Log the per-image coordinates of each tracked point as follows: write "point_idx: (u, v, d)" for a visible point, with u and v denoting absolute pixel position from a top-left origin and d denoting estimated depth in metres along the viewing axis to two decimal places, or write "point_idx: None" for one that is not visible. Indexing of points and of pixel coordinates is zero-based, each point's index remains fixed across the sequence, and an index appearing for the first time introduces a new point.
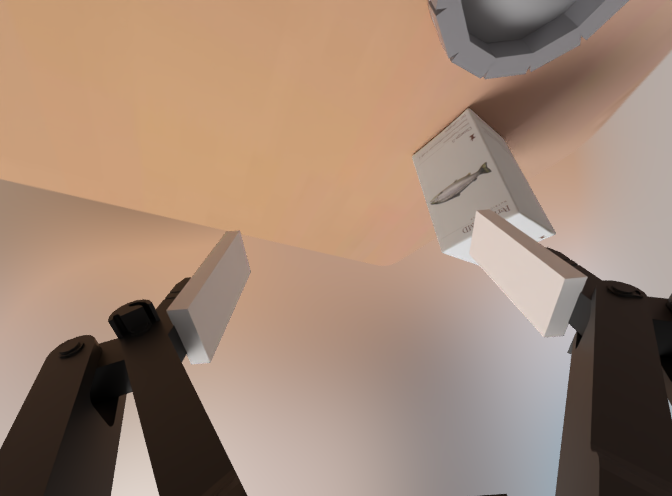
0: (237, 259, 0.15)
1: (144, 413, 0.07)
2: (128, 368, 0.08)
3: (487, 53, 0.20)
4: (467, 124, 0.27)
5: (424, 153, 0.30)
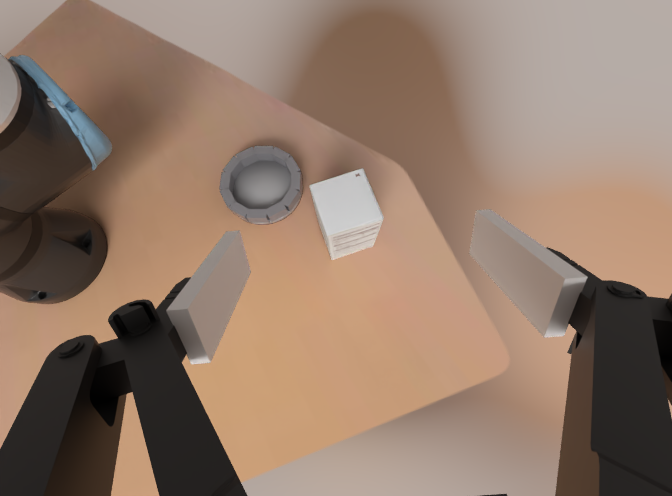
0: (237, 259, 0.15)
1: (144, 413, 0.07)
2: (128, 368, 0.08)
3: (276, 204, 0.45)
4: None
5: None
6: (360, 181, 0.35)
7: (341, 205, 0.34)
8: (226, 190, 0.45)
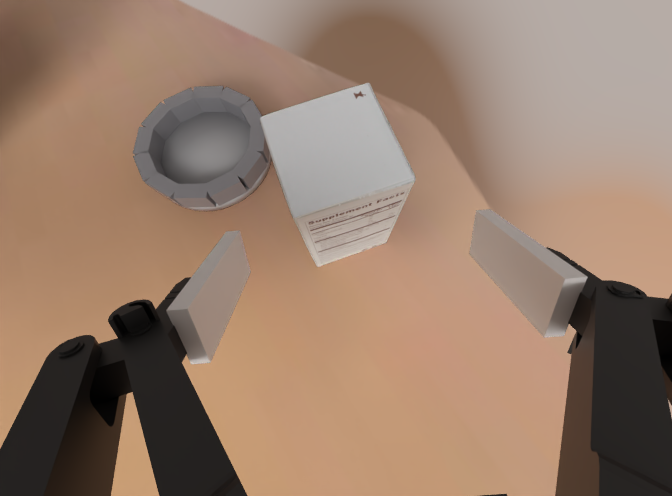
0: (237, 259, 0.15)
1: (144, 413, 0.07)
2: (128, 368, 0.08)
3: (224, 174, 0.27)
4: None
5: None
6: (364, 106, 0.17)
7: (325, 153, 0.16)
8: (144, 155, 0.28)
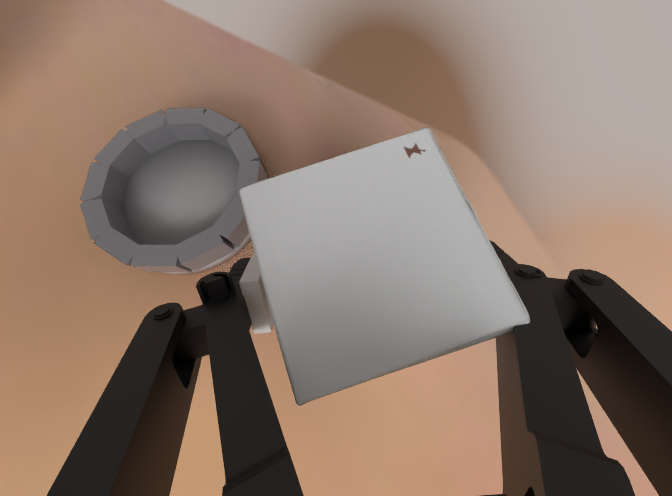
0: None
1: (216, 371, 0.07)
2: (207, 329, 0.09)
3: (201, 232, 0.20)
4: None
5: None
6: (424, 173, 0.09)
7: (358, 266, 0.09)
8: (95, 202, 0.21)
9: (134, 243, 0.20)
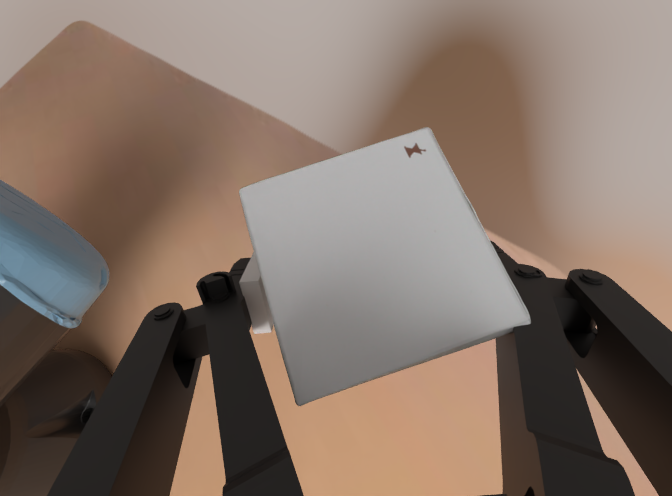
0: None
1: (216, 371, 0.08)
2: (207, 329, 0.09)
3: None
4: None
5: None
6: (425, 172, 0.09)
7: (358, 266, 0.09)
8: None
9: None
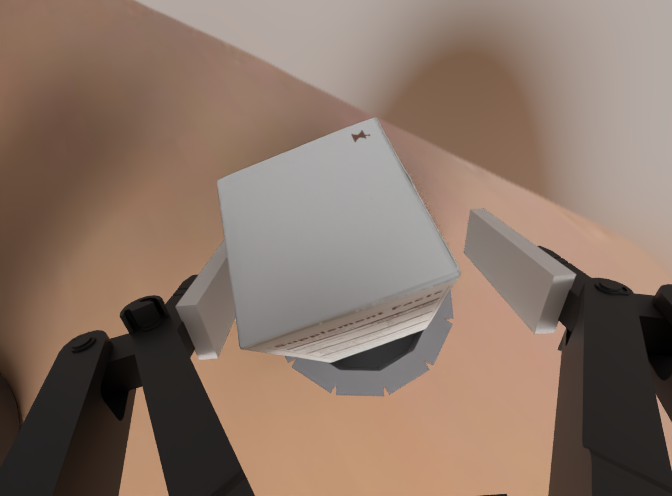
0: None
1: (153, 407, 0.07)
2: (138, 362, 0.08)
3: (403, 357, 0.19)
4: None
5: None
6: (367, 152, 0.11)
7: (302, 232, 0.10)
8: None
9: (334, 368, 0.19)
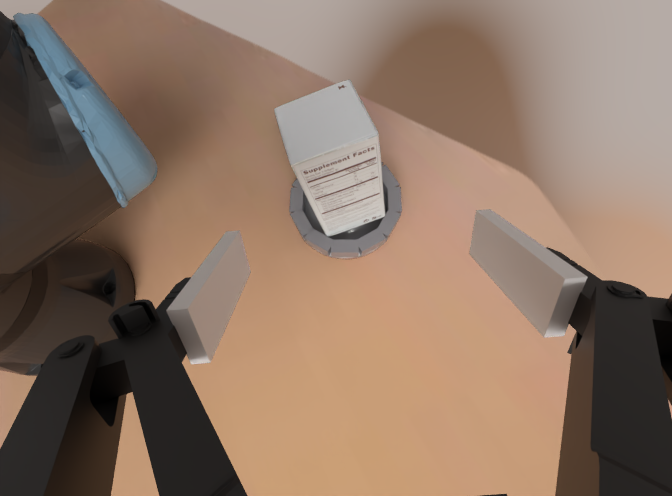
0: (237, 259, 0.15)
1: (144, 413, 0.07)
2: (128, 368, 0.08)
3: (371, 232, 0.32)
4: None
5: None
6: (344, 93, 0.24)
7: (315, 124, 0.23)
8: (299, 213, 0.33)
9: (330, 238, 0.32)
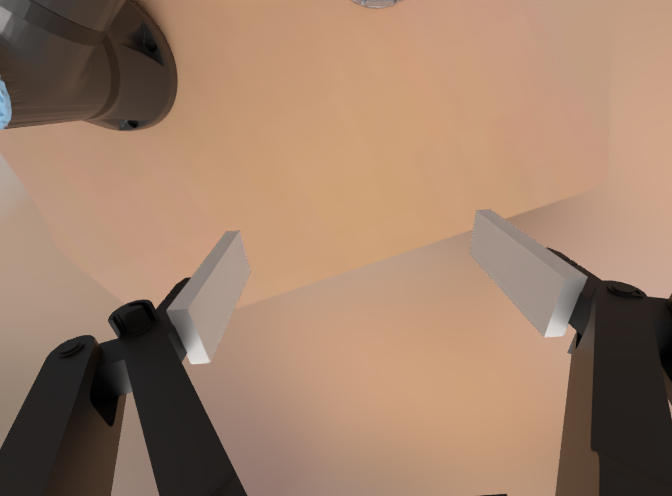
0: (237, 259, 0.15)
1: (144, 413, 0.07)
2: (128, 368, 0.08)
3: None
4: None
5: None
6: None
7: None
8: None
9: None
